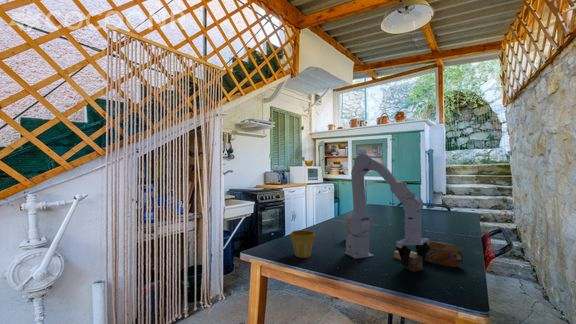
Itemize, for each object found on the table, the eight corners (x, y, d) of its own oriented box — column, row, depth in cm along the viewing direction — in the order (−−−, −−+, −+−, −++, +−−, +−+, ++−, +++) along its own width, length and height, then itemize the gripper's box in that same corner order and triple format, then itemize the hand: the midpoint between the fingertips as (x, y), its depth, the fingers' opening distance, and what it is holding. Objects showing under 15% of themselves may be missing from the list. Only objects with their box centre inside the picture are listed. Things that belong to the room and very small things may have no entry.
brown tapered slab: (420, 260, 111) (420, 239, 111) (422, 258, 114) (422, 238, 114) (462, 269, 101) (462, 247, 101) (464, 267, 104) (464, 245, 104)
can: (356, 243, 134) (356, 219, 134) (342, 241, 139) (342, 217, 139) (362, 240, 140) (362, 217, 140) (348, 237, 145) (349, 215, 145)
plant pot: (297, 250, 123) (297, 228, 123) (318, 254, 118) (318, 231, 118) (286, 256, 114) (286, 233, 114) (308, 261, 109) (308, 236, 109)
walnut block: (413, 271, 99) (413, 258, 99) (403, 267, 103) (403, 254, 103) (422, 270, 101) (422, 256, 101) (412, 265, 105) (412, 253, 105)
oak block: (407, 263, 108) (407, 256, 108) (393, 258, 114) (393, 251, 114) (419, 261, 111) (419, 254, 111) (406, 256, 117) (406, 249, 117)
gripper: (406, 232, 96) (406, 271, 96) (436, 229, 101) (436, 265, 101) (392, 228, 102) (392, 264, 102) (420, 225, 108) (420, 259, 107)
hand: (413, 264), depth 102 cm, fingers open, 7 cm apart
